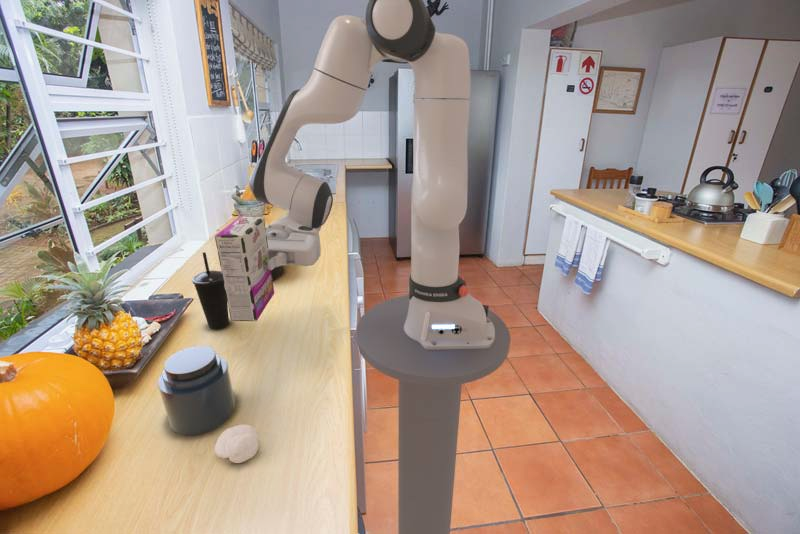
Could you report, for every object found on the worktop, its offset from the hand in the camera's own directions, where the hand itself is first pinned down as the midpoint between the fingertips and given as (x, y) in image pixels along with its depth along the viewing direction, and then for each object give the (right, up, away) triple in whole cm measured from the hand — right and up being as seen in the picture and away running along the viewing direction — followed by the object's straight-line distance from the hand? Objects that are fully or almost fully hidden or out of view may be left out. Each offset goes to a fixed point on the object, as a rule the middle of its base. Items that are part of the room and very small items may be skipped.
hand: (250, 265), depth 72 cm
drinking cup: (-19, -15, +28) cm, 38 cm away
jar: (-9, -27, 0) cm, 29 cm away
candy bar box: (0, -8, +2) cm, 8 cm away
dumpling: (+1, -31, -8) cm, 32 cm away
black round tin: (-18, -3, +59) cm, 62 cm away
